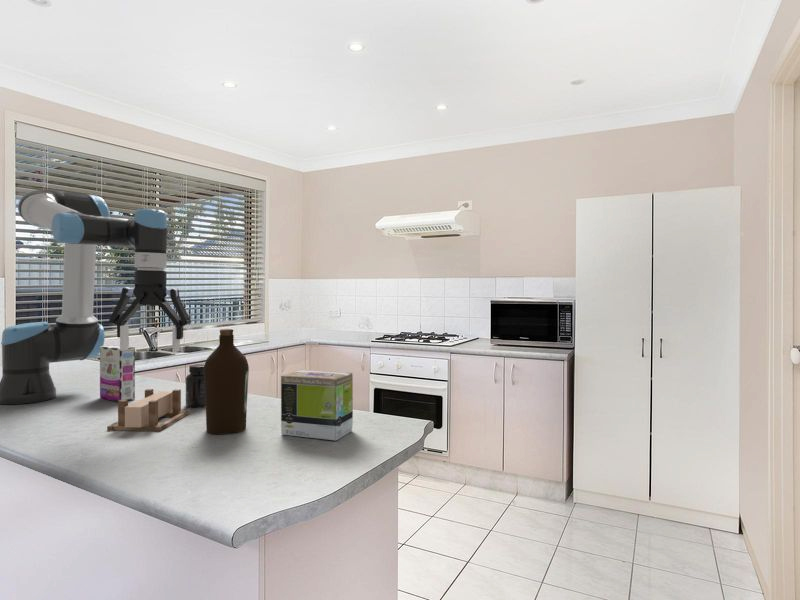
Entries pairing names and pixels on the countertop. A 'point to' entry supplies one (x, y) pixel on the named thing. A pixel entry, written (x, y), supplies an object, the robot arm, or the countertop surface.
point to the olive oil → (226, 387)
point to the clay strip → (147, 409)
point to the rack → (152, 414)
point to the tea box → (317, 404)
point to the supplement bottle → (195, 386)
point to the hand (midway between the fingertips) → (150, 351)
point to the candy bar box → (117, 373)
